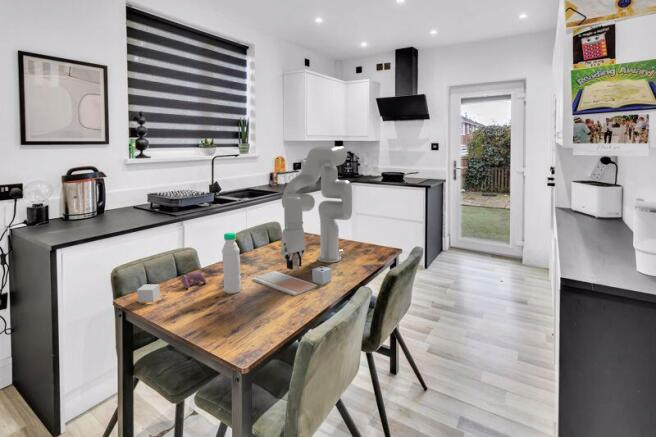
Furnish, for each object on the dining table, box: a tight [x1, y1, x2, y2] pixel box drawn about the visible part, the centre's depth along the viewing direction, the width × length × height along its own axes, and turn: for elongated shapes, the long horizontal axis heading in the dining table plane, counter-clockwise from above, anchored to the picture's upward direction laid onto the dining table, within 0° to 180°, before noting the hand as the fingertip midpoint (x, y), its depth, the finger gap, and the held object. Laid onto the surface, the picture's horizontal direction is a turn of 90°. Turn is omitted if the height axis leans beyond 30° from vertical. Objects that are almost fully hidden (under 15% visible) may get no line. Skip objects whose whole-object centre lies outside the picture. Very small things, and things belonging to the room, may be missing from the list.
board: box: [252, 270, 318, 297], centre depth 172 cm, size 13×28×1 cm, turn 48°
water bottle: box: [221, 232, 242, 294], centre depth 162 cm, size 7×7×25 cm
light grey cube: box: [136, 283, 161, 302], centre depth 153 cm, size 6×6×6 cm
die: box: [311, 265, 332, 286], centre depth 174 cm, size 6×6×6 cm
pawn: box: [289, 252, 300, 271], centre depth 166 cm, size 4×4×7 cm
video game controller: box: [180, 271, 207, 289], centre depth 170 cm, size 10×5×7 cm, turn 142°
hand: (294, 267), depth 166 cm, fingers closed on pawn, 4 cm apart
